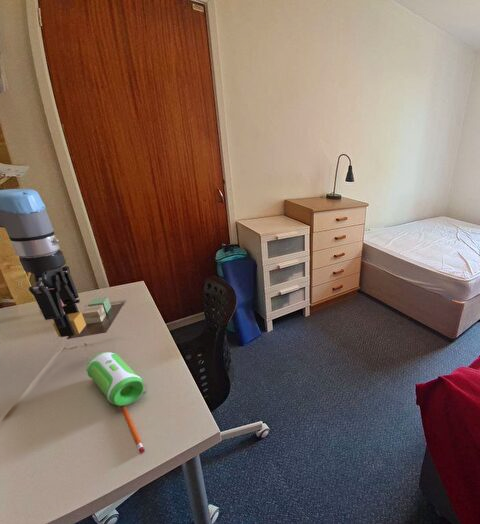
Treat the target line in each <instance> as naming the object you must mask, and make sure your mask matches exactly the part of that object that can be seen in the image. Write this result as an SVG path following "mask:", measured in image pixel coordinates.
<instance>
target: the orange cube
mask: <svg viewBox="0 0 480 524" xmlns="http://www.w3.org/2000/svg"><path fill="white" fill-rule="evenodd" d="M67 315H68V318H69V320H70V323H71V325H72V328H73V330H74V332H75V334H80V332H81V331H82V330H83V328H84V327H85V326H86V323H85V320H84V318H83V315H82V311H79V312H77V313H70V314H67ZM52 325H53V328H54V330H55V332H56V334H57V337H58V338H62V337H61V336H60V333H59V331H58V329H57V327H56V324H55V322H54V321H53V322H52ZM75 334H74V335H75Z"/></svg>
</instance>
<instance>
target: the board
mask: <svg viewBox="0 0 480 524" xmlns="http://www.w3.org/2000/svg"><path fill="white" fill-rule="evenodd" d="M124 304H125V303H124V302H123V303H116V304H110V305H111V308H110V309H109V311H108V312H107V313H106V316H105V318H104V319H103V321H102V322H98V323H91V324H86V326H85V327H84V328H83V330H82V331H81V332H80V334H75V335H72V336H67V337H66V340H71V339H76V338H77V339H78V338H84V337H88V336H89V337H90V336H95V335H100V334H101V335H102V334H107V333H108V331H109V329H110V327H111V326H112V324H113V323H114V321H115V320H116V318H117V316H118V314H119V313H120V312H121V310H122V308H123V307H124Z"/></svg>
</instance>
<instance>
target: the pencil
mask: <svg viewBox="0 0 480 524" xmlns="http://www.w3.org/2000/svg"><path fill="white" fill-rule="evenodd" d="M119 408H120V410H121V412H122V414H123V417H124V419H125V422H126V424H127V426H128V429H129V431H130V433H131V436H132V438H133V440H134V443H135V445H136V448H137V450H138V452H139V454H142V453H144V452H145V448H144V445H143V443H142V440H141V439H140V437H139V434H138V431H137V430H136V429H137V428H136V427H135V425H134V423H133V420H132V417H131V416H130V413H129V411H128V409H127V407H126V405H125V406H119Z"/></svg>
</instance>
